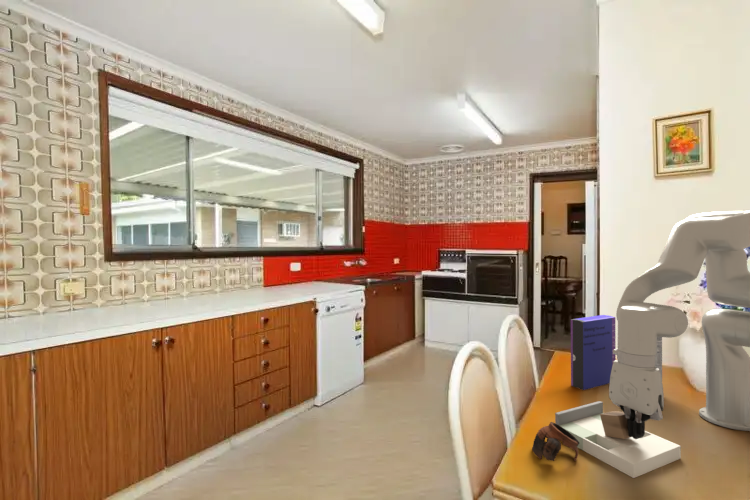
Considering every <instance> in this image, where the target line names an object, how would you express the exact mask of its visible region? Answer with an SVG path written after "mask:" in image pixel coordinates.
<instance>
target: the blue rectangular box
mask: <svg viewBox="0 0 750 500" xmlns="http://www.w3.org/2000/svg"><path fill="white" fill-rule="evenodd" d="M614 349H617V346H616V316H611V315H608V314H607V315H605V314H600V315H593V316H586V317H579V318H572V319H570V386H571V387H573V388H575V389H579V390H582V391H586V390H587V391H588V390H591V389H594V388H598V387H602V386H606V385H609V384H610V376H611V370H612V366H613V363H614V361H615V360H617V355H615V354H613V350H614Z"/></svg>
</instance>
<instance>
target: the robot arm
mask: <svg viewBox="0 0 750 500" xmlns="http://www.w3.org/2000/svg"><path fill="white" fill-rule="evenodd" d="M747 248H750V209H743V210H727V211H723V210H722V211H711V212H710V211H709V212H701V213H695V214H691V215H689V216H688V217H686V218H685V219H682V220H680V221H679V222H676V223H675V225H674V226H672V229H671V230H670V233H669V236H668V239H667V240H666V243H665V246H664V248H663V249H662V252H661V254H660V257H659V259H658V262H657V263H656V265H655V266H653V267H651V268H649V269H648V270H646V271H645V272H642V274H640V275H639V276H637V277H636V278H635V279H633V280H632V281H631V282H630V283H629V284H628V285H627V286H626V287H625V290H624V291H623V293H622V296H621V298H620V300H619V302H618V304H617V309H616V315H615V318H616V320H617V347H616V349H614V350H613V354H615V355H616V360H615V361H614V363H613V366H612V370H611V376H610V384H608V386H609V387H608V397H609V399H610V400H611V402H612V404H613V405H615V406H617V407H618V408H620V409H621V412H624V414H625V417H626V418H627V430H628V436H630V437H633V438H634V439H638V438H641V437H643V436H644V434H645V431H646V430H645V429H646V428H645V426H646V423H645V422H647V421H648V420H652V421H653V420H654V421H661V420H663V418H664V417H663V413H662V412H663V411H664V408H665V407H664V406H665V403H664V402H665V398H664V396H665V395H664V394H665V393H664V387H663V386H664V385H663V378H662V379H661V374H660V371H659V369H658V368H656V347H657V337H662V338H667V339H668V338H669V339H671V338H672V339H673V338H677V337H679V336H681V335H683V334H684V333H685V332H686V330H687V329H688V327H689V326H688V325H689V320H688V316H687V314H686V313H685V312H684V311H683V310H682V309H680V308H678V307H675V306H672V305H666V304H660V303H659V304H658V303H653V302H645V301H646V300H647V298H649V297H650V296H651V295H653V294H655V293H657V292H659V291H662V290H665V289H670V288H674V287H677V286H680V285H684V284H688V283H690V282H692V281H695V279H697V278H698V276H699V273H700V271H701V268H702V266H703V263H704V262H705V275H706V276H705V277H706V291H707V297H708V298H709V300H711V302H713V303H715V304H719V305H724V306H731V307H739V308H747V309H748V308H749V309H750V271H749V270H748V258H747V257H748V256H747V255H748V254H747V253H746V251H745V249H747ZM701 328H702V329H701V330H702V333H703V337H704V343H705V344H704V345H705V406H704V407H702V408H700V409H699V410H698V415H699V416H700V417H701V418H702V419H704V420H705V421H708V422H709V423H712V424H714V425H716V426H720V427H724V428H728V429H732V430H737V431H745V432H748V431H749V432H750V355H749V353H748V352H747V351H746V349H745V348H744V347H746V348H750V311H745V310H738V309H728V308H714V309H710V310H708V311H705V313H704V314H703V315H702V317H701Z"/></svg>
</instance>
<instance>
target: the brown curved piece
mask: <svg viewBox="0 0 750 500" xmlns="http://www.w3.org/2000/svg"><path fill="white" fill-rule="evenodd" d="M578 444H579V441H578V440H577V439H576V438H575V437H574V436H573V435H572V434H570V433H569V432H568V431H567V430H565V429H564V428H562V427H561V426H559V425H557V424H555V422H554V421H553V422H552V421H550V422H549V424H548V425H545V426H543V427H541V428H540V429H538V432H537V433H536V434H535V437H534V439H533V444H532V447H531V448H532V453H534V455H535V456H536V457H537V458H538V459H539V460H543V456H544V458H545V460H548V461H551V462H552V461H553V462H555V460H556V458H557V455H558V454H559V453H560V451H561V450H562V445H564V446H567V448H570V449H572V451H574V453H575V454H574V457H573V460H574V462H576V461H577V460H578V457H579V448H578V447H577V446H578Z"/></svg>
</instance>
